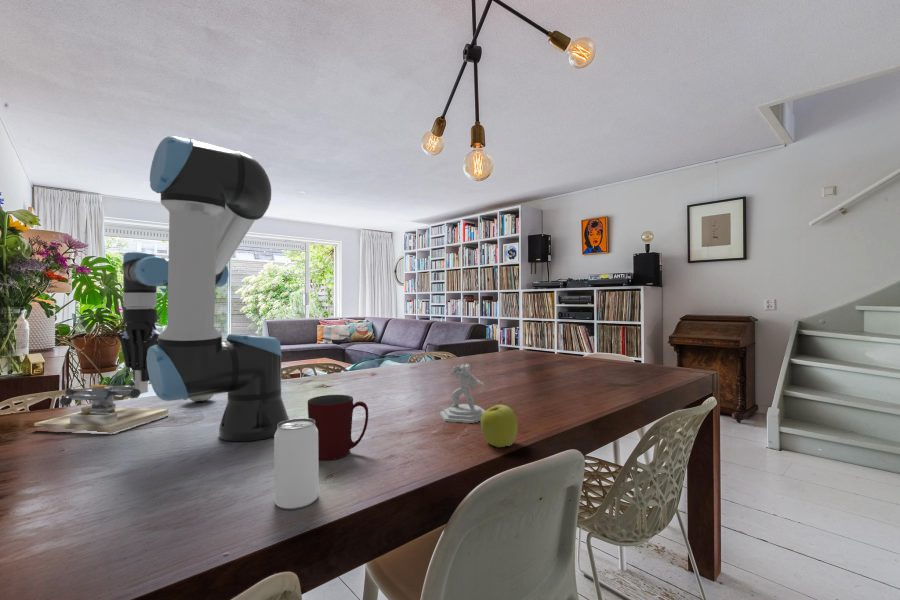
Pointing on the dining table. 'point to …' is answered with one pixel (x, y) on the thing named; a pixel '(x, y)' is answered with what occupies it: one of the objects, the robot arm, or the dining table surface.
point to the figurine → (466, 411)
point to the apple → (499, 425)
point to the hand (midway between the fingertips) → (141, 392)
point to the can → (296, 463)
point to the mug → (334, 424)
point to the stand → (104, 419)
